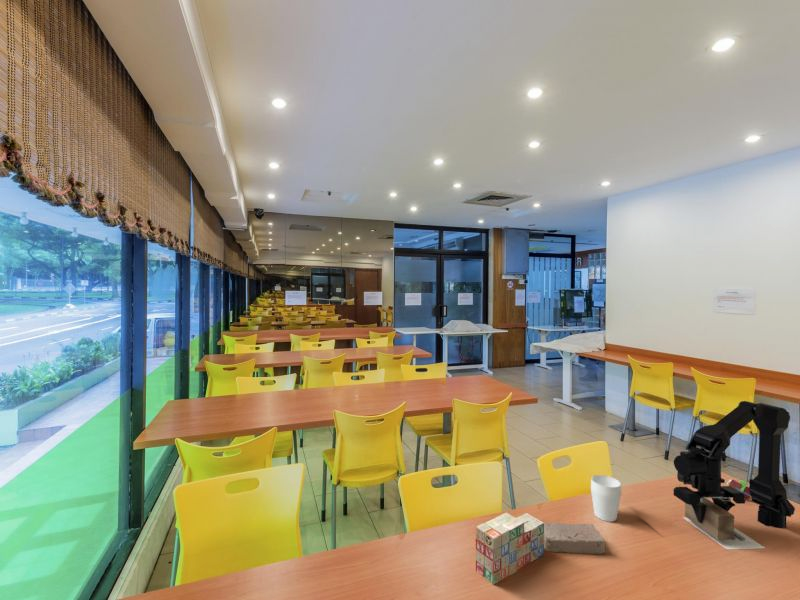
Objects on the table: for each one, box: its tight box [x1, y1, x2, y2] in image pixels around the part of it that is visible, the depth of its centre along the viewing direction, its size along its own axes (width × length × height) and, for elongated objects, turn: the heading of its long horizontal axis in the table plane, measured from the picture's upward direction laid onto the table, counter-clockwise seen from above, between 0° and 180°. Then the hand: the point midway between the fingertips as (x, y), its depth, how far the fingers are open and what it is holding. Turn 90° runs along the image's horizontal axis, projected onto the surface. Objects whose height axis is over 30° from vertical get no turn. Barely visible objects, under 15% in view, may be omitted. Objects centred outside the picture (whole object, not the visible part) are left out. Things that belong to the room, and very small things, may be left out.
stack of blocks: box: [475, 512, 545, 585], centre depth 106 cm, size 21×6×12 cm, turn 124°
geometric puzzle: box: [726, 478, 751, 500], centre depth 142 cm, size 7×7×8 cm
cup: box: [590, 474, 622, 523], centre depth 129 cm, size 9×9×12 cm
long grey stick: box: [734, 531, 745, 541], centre depth 118 cm, size 1×8×1 cm, turn 3°
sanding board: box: [682, 516, 766, 550], centre depth 118 cm, size 12×16×2 cm
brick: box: [544, 522, 606, 555], centre depth 114 cm, size 16×8×5 cm, turn 86°
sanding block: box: [684, 498, 735, 540], centre depth 118 cm, size 5×12×7 cm, turn 3°
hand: (708, 522), depth 118 cm, fingers closed on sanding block, 5 cm apart
